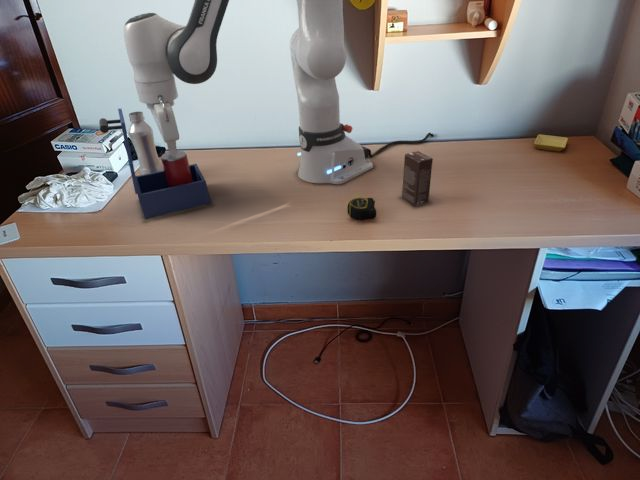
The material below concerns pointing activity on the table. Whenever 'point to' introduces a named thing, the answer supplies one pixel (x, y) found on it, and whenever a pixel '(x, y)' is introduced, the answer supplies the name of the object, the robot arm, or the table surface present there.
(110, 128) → the lid
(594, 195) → the table surface
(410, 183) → the box
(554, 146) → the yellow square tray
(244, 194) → the table surface
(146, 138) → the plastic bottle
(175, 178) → the can
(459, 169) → the table surface
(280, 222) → the table surface
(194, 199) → the box
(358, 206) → the tape measure
